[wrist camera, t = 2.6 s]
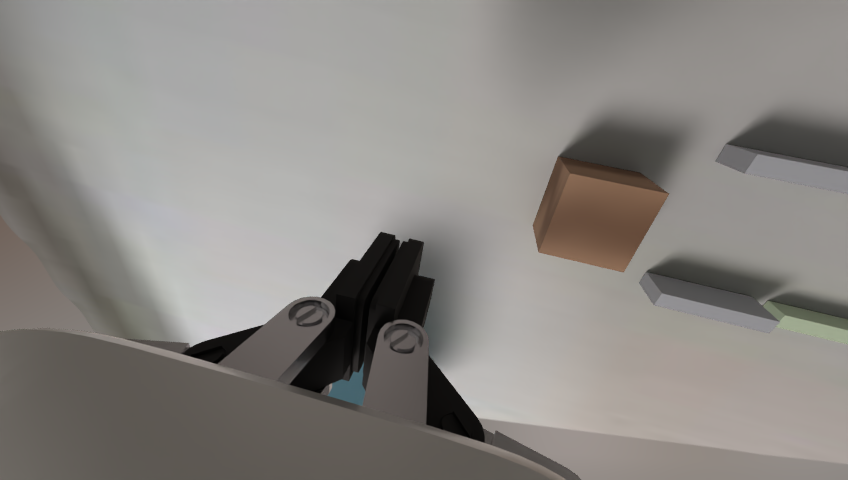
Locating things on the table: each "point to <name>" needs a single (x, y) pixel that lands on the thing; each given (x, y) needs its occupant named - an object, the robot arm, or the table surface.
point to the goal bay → (809, 322)
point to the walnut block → (596, 213)
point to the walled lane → (729, 303)
